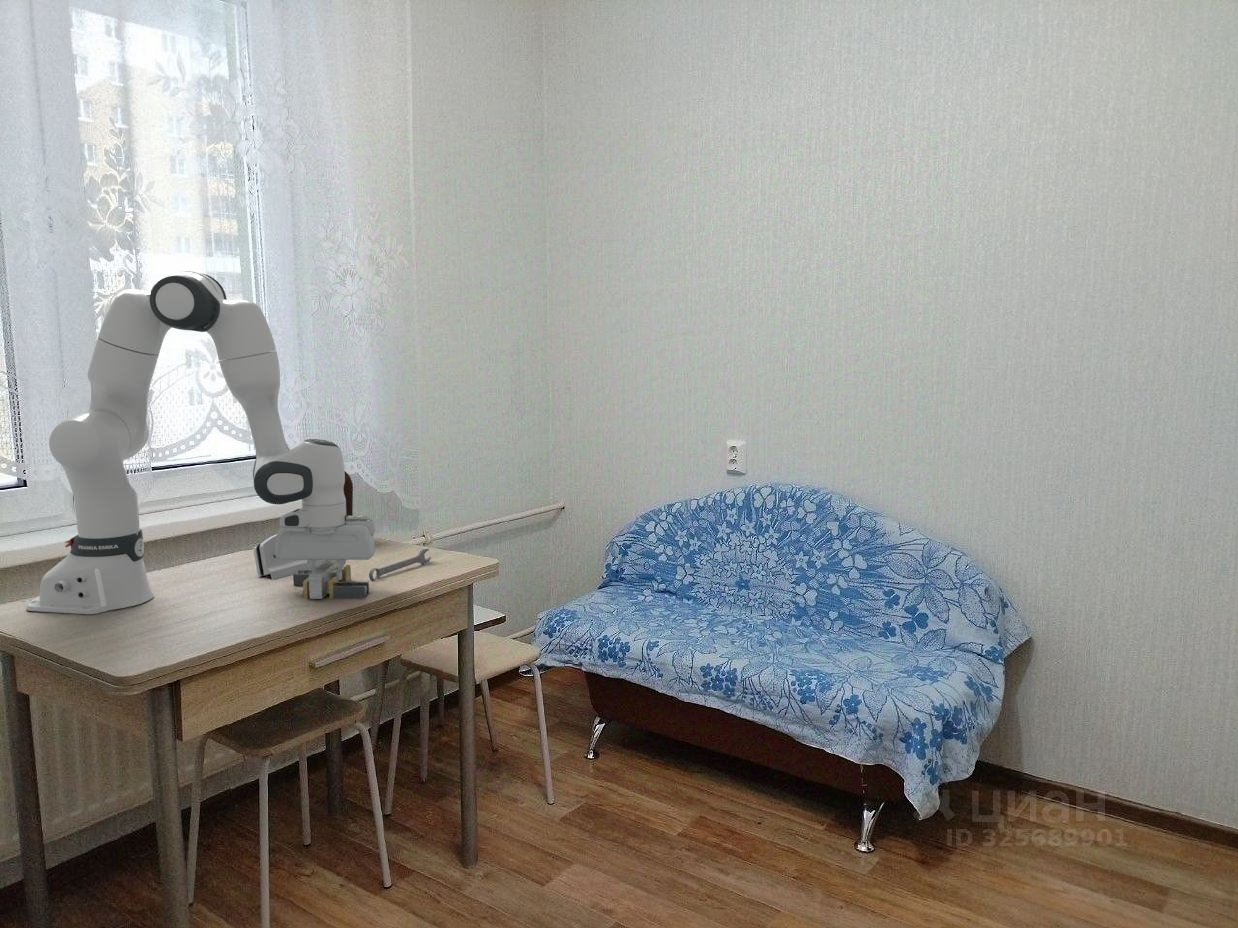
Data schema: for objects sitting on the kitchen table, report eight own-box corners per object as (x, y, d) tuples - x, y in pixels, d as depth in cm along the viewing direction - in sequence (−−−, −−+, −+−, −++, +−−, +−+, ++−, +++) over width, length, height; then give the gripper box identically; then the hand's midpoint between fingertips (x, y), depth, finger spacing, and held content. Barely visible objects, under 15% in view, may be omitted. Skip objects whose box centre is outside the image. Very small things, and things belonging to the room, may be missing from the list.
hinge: (272, 579, 209) (259, 536, 209) (259, 584, 211) (246, 541, 211) (330, 563, 223) (318, 523, 223) (317, 567, 225) (305, 527, 226)
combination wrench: (371, 568, 207) (433, 547, 224) (367, 567, 208) (428, 546, 225) (372, 584, 208) (433, 562, 225) (368, 583, 208) (429, 562, 225)
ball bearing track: (278, 598, 194) (277, 582, 194) (299, 580, 208) (298, 565, 208) (364, 598, 195) (364, 581, 194) (380, 580, 208) (379, 564, 208)
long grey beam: (309, 598, 193) (308, 575, 192) (332, 577, 209) (331, 555, 209) (322, 598, 193) (321, 574, 192) (344, 577, 210) (343, 555, 209)
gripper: (377, 512, 202) (379, 575, 204) (281, 512, 202) (284, 575, 204) (370, 518, 196) (373, 583, 198) (271, 518, 196) (274, 583, 198)
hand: (327, 579), depth 201 cm, fingers closed on long grey beam, 2 cm apart
